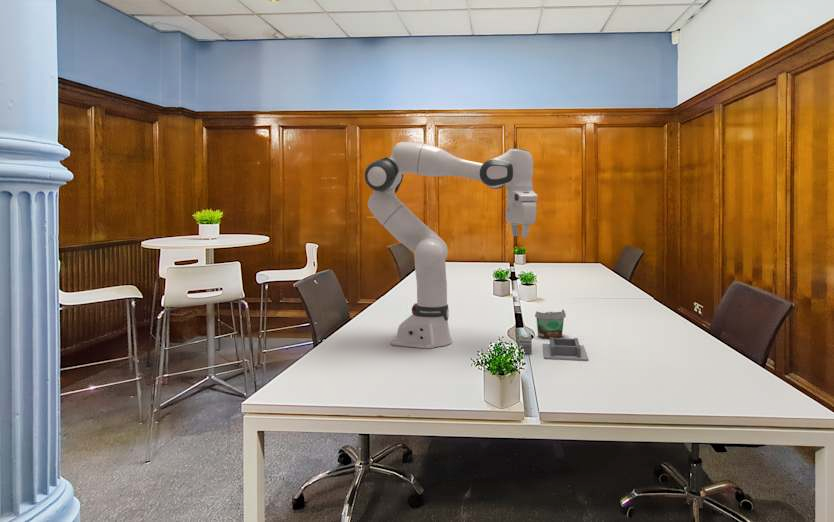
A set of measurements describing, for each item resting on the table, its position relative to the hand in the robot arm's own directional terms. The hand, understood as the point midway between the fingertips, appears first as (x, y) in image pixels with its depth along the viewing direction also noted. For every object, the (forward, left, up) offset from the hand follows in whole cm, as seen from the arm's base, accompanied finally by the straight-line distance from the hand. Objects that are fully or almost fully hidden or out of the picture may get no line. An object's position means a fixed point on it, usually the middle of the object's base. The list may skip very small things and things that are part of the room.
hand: (519, 236), depth 181 cm
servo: (+2, -4, -40) cm, 40 cm away
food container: (+12, +16, -40) cm, 45 cm away
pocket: (+15, -4, -40) cm, 43 cm away
